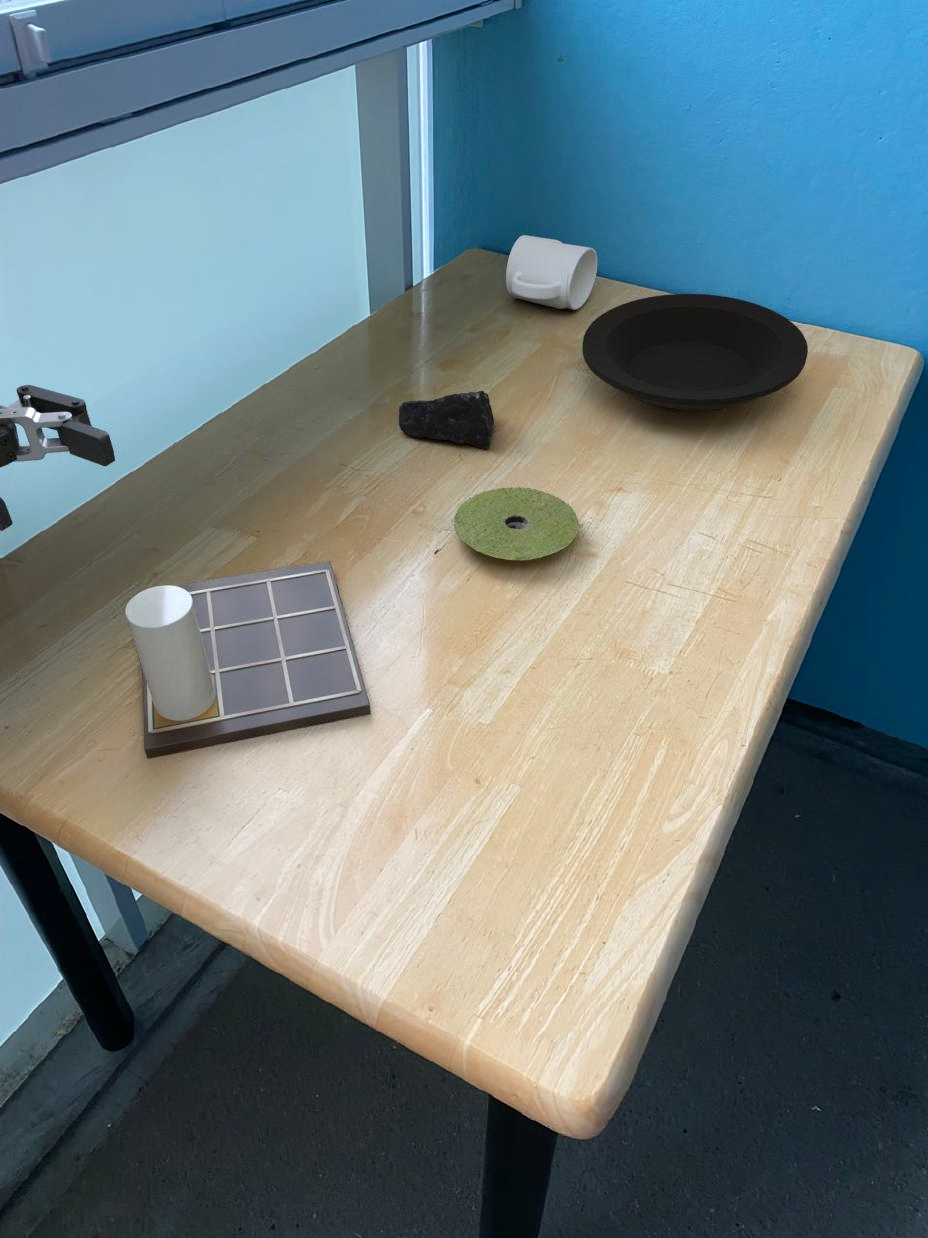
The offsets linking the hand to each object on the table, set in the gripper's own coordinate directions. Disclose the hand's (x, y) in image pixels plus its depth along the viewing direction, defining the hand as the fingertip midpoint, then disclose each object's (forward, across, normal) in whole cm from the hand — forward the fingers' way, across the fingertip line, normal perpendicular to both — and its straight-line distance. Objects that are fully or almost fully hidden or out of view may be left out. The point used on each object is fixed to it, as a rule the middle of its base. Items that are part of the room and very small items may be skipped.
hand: (59, 481), depth 59 cm
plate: (+21, +67, +18) cm, 72 cm away
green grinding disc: (+18, +31, +18) cm, 40 cm away
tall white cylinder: (+6, 0, +17) cm, 18 cm away
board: (+6, +7, +18) cm, 20 cm away
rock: (+3, +45, +18) cm, 48 cm away
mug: (-3, +80, +18) cm, 82 cm away
